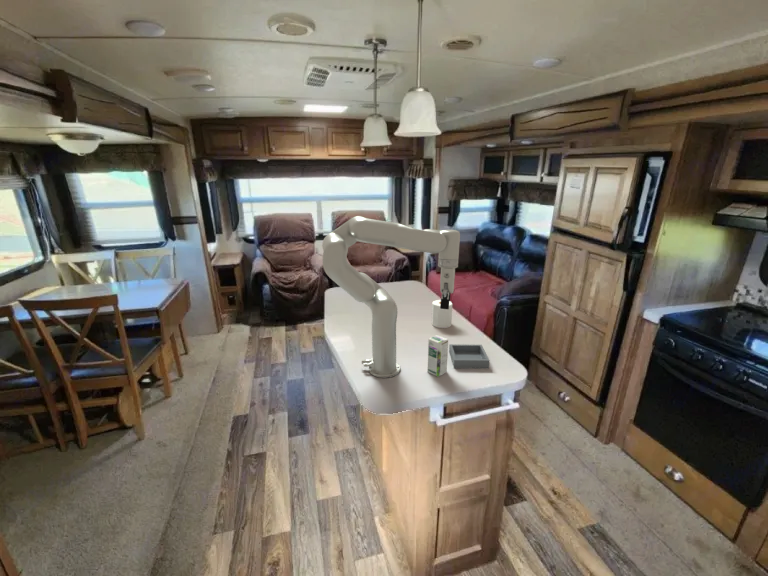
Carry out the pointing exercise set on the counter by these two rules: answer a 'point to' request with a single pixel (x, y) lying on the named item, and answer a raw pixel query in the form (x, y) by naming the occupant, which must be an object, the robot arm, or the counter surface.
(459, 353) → the box
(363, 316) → the counter surface
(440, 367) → the syrup box
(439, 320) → the toilet paper
